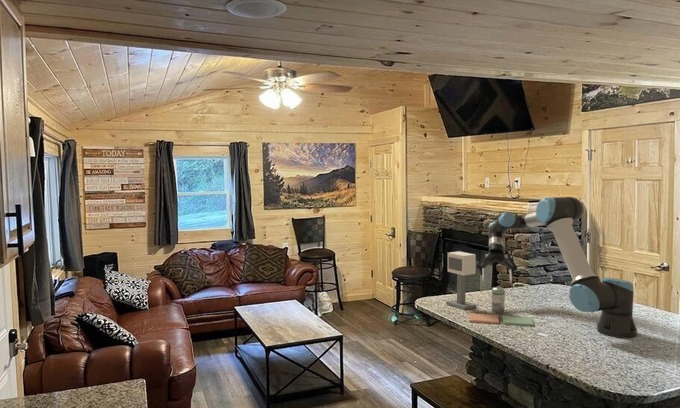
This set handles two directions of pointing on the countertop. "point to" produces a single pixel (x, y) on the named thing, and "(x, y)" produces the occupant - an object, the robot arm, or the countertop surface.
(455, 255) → the mounted unit
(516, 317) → the green tile
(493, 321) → the terracotta tile
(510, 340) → the countertop surface
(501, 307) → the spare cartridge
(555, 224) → the robot arm
